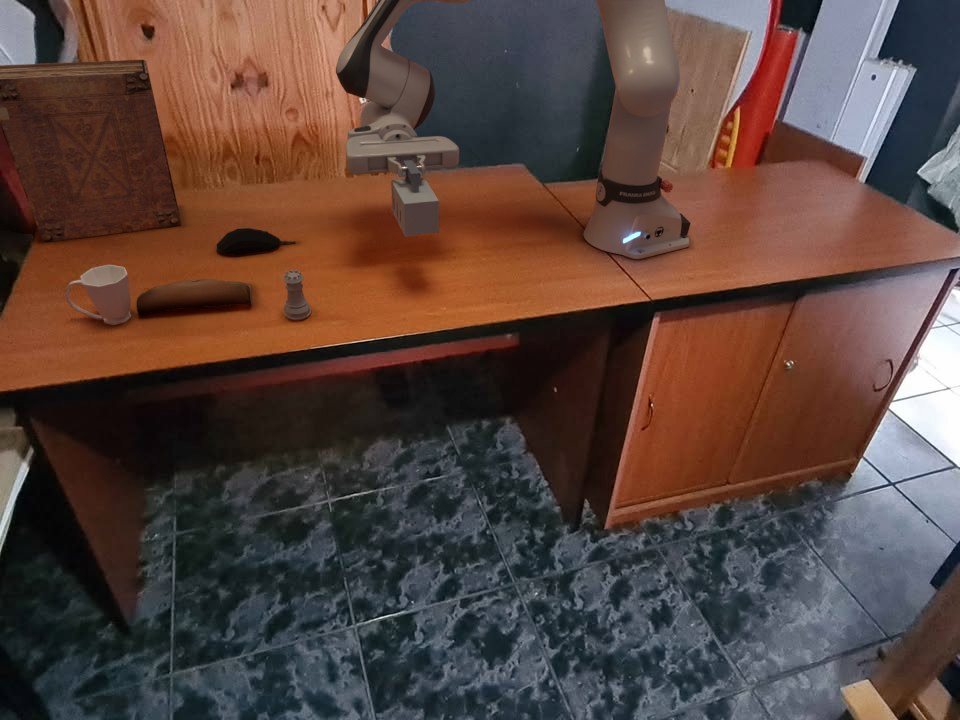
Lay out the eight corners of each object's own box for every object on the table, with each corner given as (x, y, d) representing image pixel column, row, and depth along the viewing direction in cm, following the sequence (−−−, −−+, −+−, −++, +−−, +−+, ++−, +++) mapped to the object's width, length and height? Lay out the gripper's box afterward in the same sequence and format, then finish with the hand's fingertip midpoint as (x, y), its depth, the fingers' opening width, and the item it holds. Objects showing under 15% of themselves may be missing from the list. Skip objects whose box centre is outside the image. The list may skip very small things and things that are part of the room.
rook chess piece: (284, 322, 115) (279, 281, 110) (283, 308, 118) (278, 267, 113) (312, 320, 116) (307, 278, 111) (310, 306, 119) (305, 265, 115)
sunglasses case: (251, 281, 124) (246, 262, 118) (254, 316, 121) (250, 298, 115) (143, 290, 120) (133, 271, 113) (144, 326, 117) (133, 309, 111)
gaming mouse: (297, 250, 135) (295, 231, 133) (218, 258, 131) (214, 239, 128) (293, 236, 140) (291, 218, 137) (216, 243, 135) (213, 225, 133)
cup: (135, 328, 111) (122, 285, 106) (68, 331, 110) (52, 288, 105) (144, 305, 117) (132, 263, 112) (80, 307, 115) (65, 265, 110)
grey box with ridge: (438, 233, 119) (439, 181, 113) (404, 236, 117) (403, 184, 111) (424, 208, 126) (424, 159, 121) (391, 211, 124) (390, 161, 119)
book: (41, 242, 132) (-18, 80, 114) (44, 222, 139) (-12, 65, 121) (182, 225, 141) (148, 71, 123) (178, 207, 147) (145, 59, 129)
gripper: (447, 156, 133) (469, 184, 122) (341, 164, 127) (354, 194, 117) (448, 123, 129) (470, 149, 119) (338, 130, 123) (352, 158, 113)
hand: (412, 172), depth 118 cm, fingers closed on grey box with ridge
